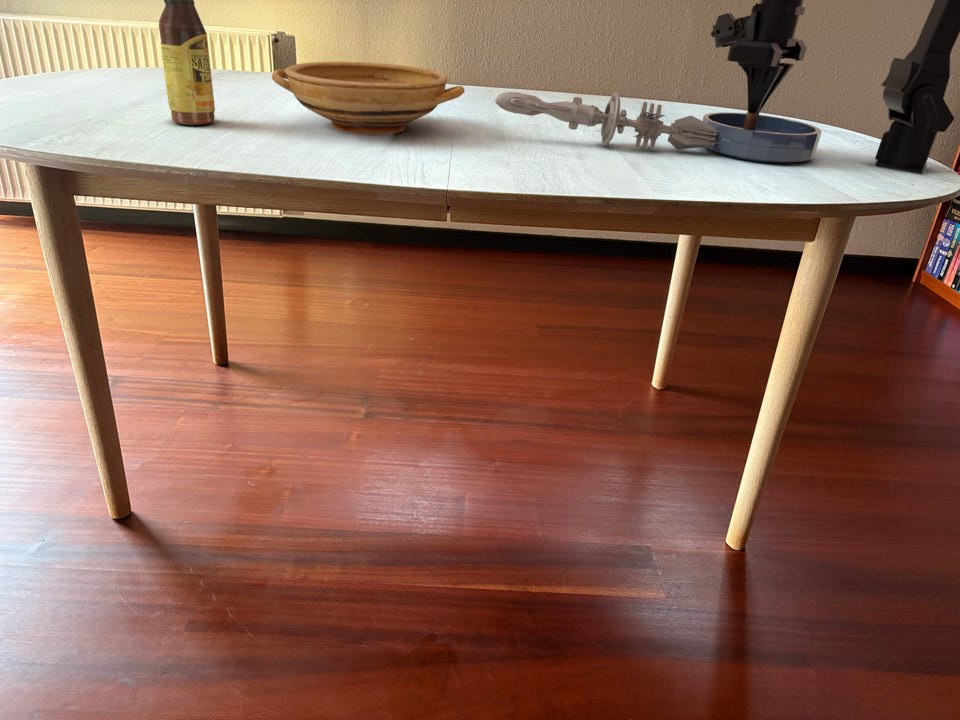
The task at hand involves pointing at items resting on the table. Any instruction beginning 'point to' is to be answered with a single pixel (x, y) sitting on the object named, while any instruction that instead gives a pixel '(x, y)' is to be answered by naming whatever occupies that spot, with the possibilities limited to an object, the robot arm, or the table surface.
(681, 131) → the spaceship
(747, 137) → the mixing bowl
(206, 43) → the sauce bottle
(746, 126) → the stirring stick
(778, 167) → the table surface
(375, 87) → the ceramic bowl
